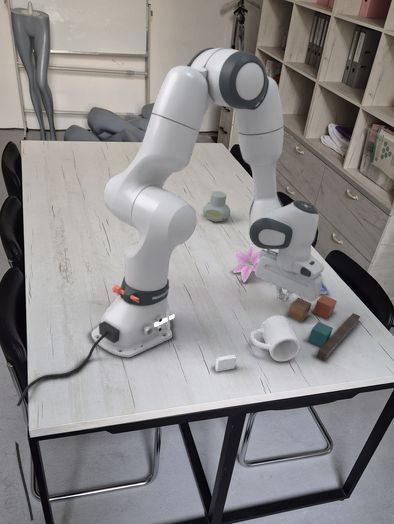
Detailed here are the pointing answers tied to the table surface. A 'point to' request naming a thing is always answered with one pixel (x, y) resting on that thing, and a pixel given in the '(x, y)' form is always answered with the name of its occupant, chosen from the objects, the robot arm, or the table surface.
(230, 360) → the eraser
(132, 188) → the robot arm
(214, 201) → the air freshener
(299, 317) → the oak block
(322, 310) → the terracotta block
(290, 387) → the table surface
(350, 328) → the straightedge
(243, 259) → the lily
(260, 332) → the mug
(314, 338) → the teal block
